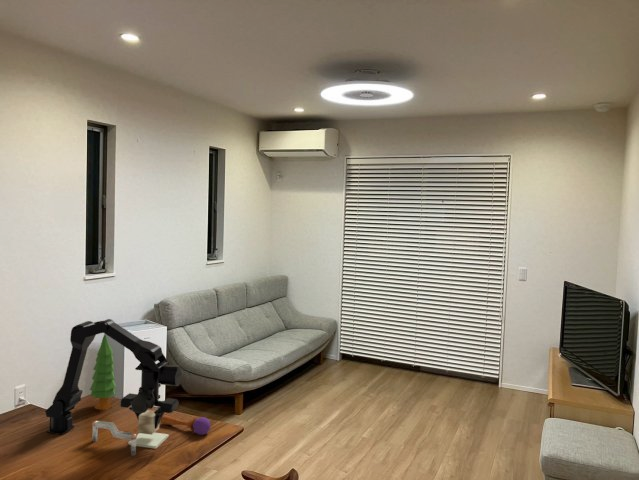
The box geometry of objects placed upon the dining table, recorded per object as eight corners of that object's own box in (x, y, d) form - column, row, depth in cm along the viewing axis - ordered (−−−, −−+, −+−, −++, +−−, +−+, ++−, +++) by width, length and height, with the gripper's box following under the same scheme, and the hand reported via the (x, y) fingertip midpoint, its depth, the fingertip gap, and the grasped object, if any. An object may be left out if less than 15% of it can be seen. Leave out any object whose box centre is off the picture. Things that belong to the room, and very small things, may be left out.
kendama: (169, 410, 191) (214, 416, 183) (168, 426, 190) (213, 434, 182) (158, 412, 185) (204, 420, 178) (157, 429, 185) (203, 437, 177)
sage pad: (128, 444, 170) (128, 442, 170) (142, 432, 179) (142, 430, 179) (155, 448, 169) (155, 446, 169) (168, 436, 178) (168, 434, 178)
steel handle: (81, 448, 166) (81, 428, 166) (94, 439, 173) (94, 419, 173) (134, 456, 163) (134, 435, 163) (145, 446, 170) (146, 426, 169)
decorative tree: (98, 413, 193) (99, 336, 191) (84, 407, 198) (85, 331, 196) (120, 405, 201) (122, 331, 199) (106, 399, 207) (107, 327, 204)
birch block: (138, 432, 172) (138, 415, 171) (145, 426, 177) (146, 409, 176) (152, 434, 171) (152, 417, 171) (159, 428, 176) (159, 411, 175)
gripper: (111, 388, 166) (110, 434, 167) (164, 394, 163) (163, 441, 164) (129, 376, 177) (128, 420, 178) (179, 382, 174) (178, 426, 175)
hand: (148, 427), depth 174 cm, fingers closed on birch block, 5 cm apart
